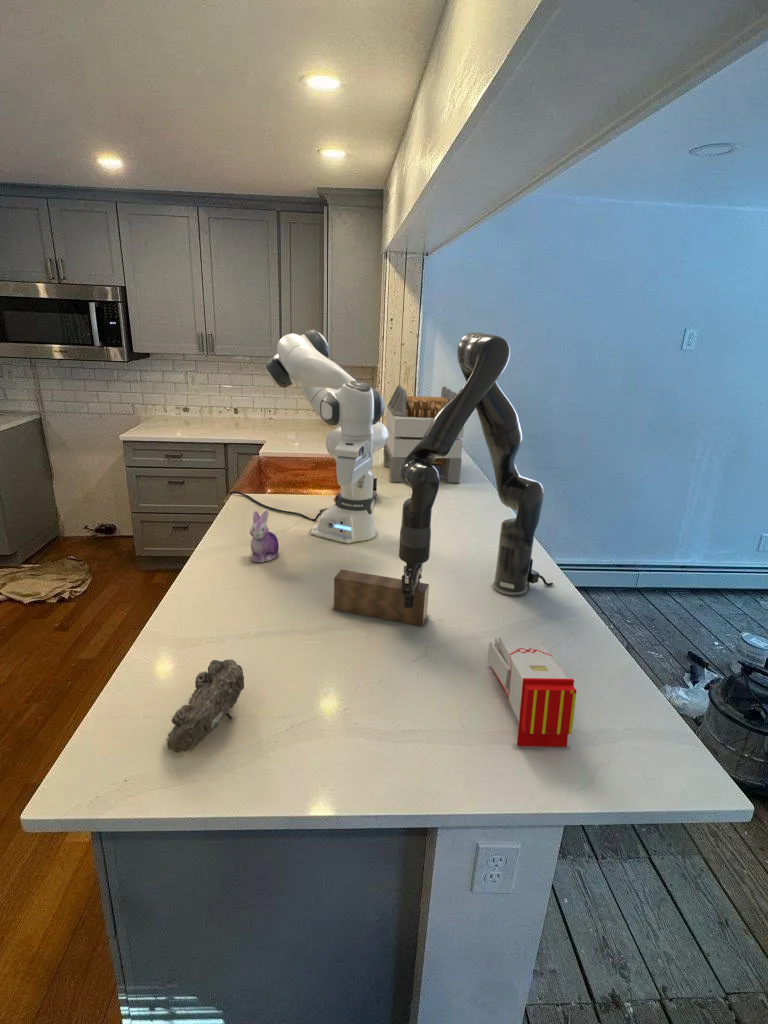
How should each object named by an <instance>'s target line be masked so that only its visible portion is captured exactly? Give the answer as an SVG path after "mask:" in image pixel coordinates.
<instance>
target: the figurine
mask: <svg viewBox="0 0 768 1024" xmlns="http://www.w3.org/2000/svg"><path fill="white" fill-rule="evenodd" d="M268 519H269V510H267V509H266V510H264V511H263V512H262V514H261V515H259V512H258V511H257V510H255V511H254V512H253V513H252V522H253V523H252V525H251V527H250V530H249V534H250V536H251V538H252V539H251V541H250V549H251V553H252V554H251V561H252V562H256V563H264V562H270V561H272V560H275V559H276V558H277V557H278V555H279V548H280V546H279V540H278V538H277V536H276V534H275V533H273V532H272V531H270V528H269V527H268V525H267V522H268Z"/></svg>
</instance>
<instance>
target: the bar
mask: <svg viewBox="0 0 768 1024" xmlns="http://www.w3.org/2000/svg"><path fill="white" fill-rule="evenodd" d="M413 583H414V581H413ZM407 590H409V589H407ZM429 591H430V583H426V582H421V581H420V582H418V583H417V586H415V590H414V598H413V607H412V608H411V609H410V608H405V607H404V595H402V578H394V577H391V576H390V577H389V576H382V575H376V574H371V573H364V572H360V571H354V570H347V569H340V570H339V572H337V573H336V575H335V576H334V577H333V610H334V611H340V612H345V613H352V614H356V615H362V616H368V617H371V618H372V617H373V618H378V619H382V620H383V619H384V620H387V621H388V620H389V621H394V622H400V623H404V624H411V625H415V626H419V627H420V626H421V627H423V626H424V623H425V621H426V619H427V617H428V605H429V593H430V592H429Z"/></svg>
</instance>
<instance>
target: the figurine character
mask: <svg viewBox="0 0 768 1024" xmlns="http://www.w3.org/2000/svg"><path fill="white" fill-rule="evenodd" d="M377 484H378V478H377V477H373V496H374V500H376V498H377V496H378V493H377V487H378V485H377Z"/></svg>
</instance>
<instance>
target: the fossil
mask: <svg viewBox="0 0 768 1024" xmlns="http://www.w3.org/2000/svg"><path fill="white" fill-rule="evenodd" d="M243 670H244V669H243V667H242V665H240V664H237V662H236V661H235V660H234V659H232V658H231V659H227V658H226V659H224V660H223V661H222V660H217V659H212V660H211V661H210V663H209V665H208V666H207V671H201V672H199V673H198V674H197V675H196V676H195V680H194V684H195V685H194V687H195V689H194V690H193V693H192V694H191V697H190V698H189V700H188V704H184V705H182V706H181V707H180V709H177V710H176V711H175V713H174V715H173V716H172V718H171V723H172V724H173V727H172V730H171V731H170V732H168V734H167V738H166V741H167V742H166V745H167V749H168V750H169V751H173V752H174V753H176V754H178V753H182V752H188V751H189V752H192V751H193V750H195V748H196V747H197V746H199V744H200V743H201V742H203V741H204V740H205V739H206V738H207V737H208V736H209V735H210V734H211V733H212V732H214V730H215V729H217V727H218V726H219V724H220V722H221V721H222V720H223V719H224V718H225V716H226V717H227V719H229V720H233V717H232V715H230V714H229V710H230V709H231V708H234V706H235V704H236V703H237V702H238V699H239V697H240V695H241V693H242V691H243V690H245V689H244V688H245V675H244V671H243Z"/></svg>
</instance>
